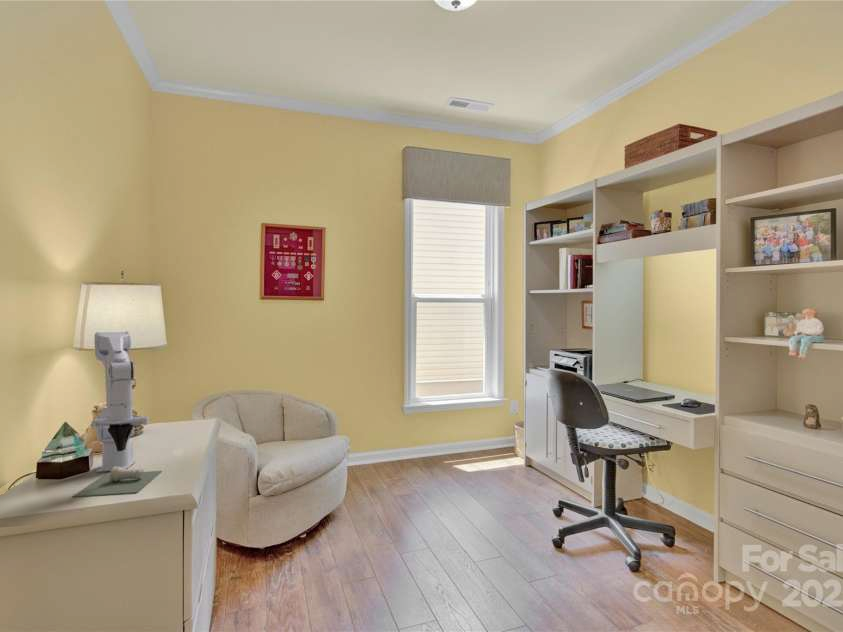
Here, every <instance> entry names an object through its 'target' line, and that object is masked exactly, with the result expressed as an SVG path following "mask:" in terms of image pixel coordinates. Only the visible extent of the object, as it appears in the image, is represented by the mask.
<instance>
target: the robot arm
mask: <svg viewBox="0 0 843 632" xmlns="http://www.w3.org/2000/svg"><path fill="white" fill-rule="evenodd" d="M131 342H132V338H131V332H130V331H127V330H126V331H113V332H112V331H111V332H110V331H105V332H104V331H103V332H99V331H96V332H95V333H94V353H95V354H94V355H95V356H94V357H96V358H95V359H96V360H98V361H100V362H102V364H103V367H104V374H105V376H104V377H105V378H104V379H105V380H104V381H105V394H106V396H105V398H106V399H105V400H106V409H105V410H104V411H103V412H101V413H100V414H98V416H97V417H96V418H95V419H92V420H91V427H92V428H96V439H97V440H98V441H99V442H101V455H102V456H101V457H102V459H101V460H102V461H101V462H102V463H101V464H102V466H101V467H99V468H98V469H96V470H95V471H96V473H99V472H101V473H103V472H111V469H112V468H113V467H115V466H116V467H118V466H119V467H121V468H124V469H128V468H129V467H130V466H132V465H133V464H135V463H136V462H137V459H134V442H133V440H132V438H131V437H133V435H135V426H138V425H143V426H147V425H148V424H150V416H133V382H134V379H135V364H134V362H133V360H130V356H129V355H130V351H131V345H132V343H131Z"/></svg>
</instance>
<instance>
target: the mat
mask: <svg viewBox="0 0 843 632" xmlns="http://www.w3.org/2000/svg"><path fill="white" fill-rule="evenodd" d="M143 472H144V474H142V475H144V476H143V478H142V479H139V480H137V479H136V478H134V479H131V478H128V479H122V480H119V481H118V482H115V481H114V482H111V481H110V478H109V477H110V473H105V474H103V475H101V476H100V477H98V478H96V480H94V481H93V482H91V483H90V484H88V485H87V486H86V487H84V488H82V489H81V490H80V491H77V493H74V494H73V495H72V496H71V497H72V498H83V497H84V498H85V497H97V496H98V497H99V496H113V495H114V496H115V495H129V494H131V495H132V494H138V493H139V492H140V491H142V489H144V488H145V487H146V486H147V485H149V484H150V482H151V483H152V481H153V480H154V479H156V477H157V476H159V475H160V474H161V473H162V472H163V471H162V470H153V471H152V470H151V471H143Z"/></svg>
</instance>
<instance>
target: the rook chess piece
mask: <svg viewBox="0 0 843 632" xmlns="http://www.w3.org/2000/svg"><path fill="white" fill-rule="evenodd" d="M144 472H145V469H142V468H137V469H134V468H133V469H128V468H126V469H124V468H121V467H119V466H118V467H116V466H115V467H113V468H112V469H111V471H109V474H110V477H109V478H110V481H111V482H114V481H115V482H118V481H119V480H122V479H128V478H131V479H134V478H136V479H137V480H139V479H142V478H143V476H144V475H142V474H144Z"/></svg>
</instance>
